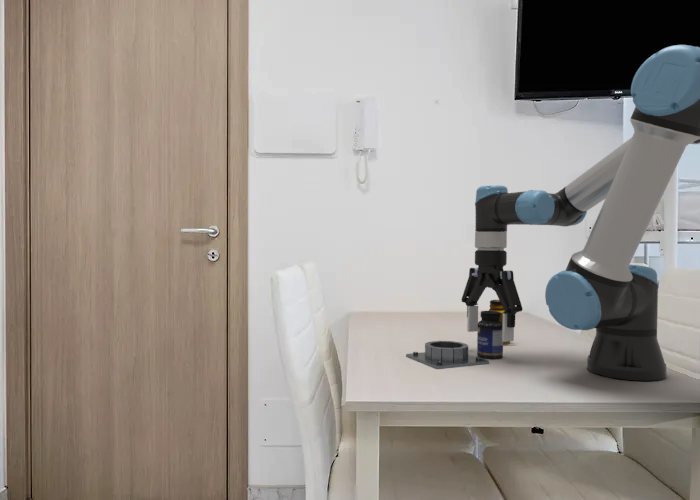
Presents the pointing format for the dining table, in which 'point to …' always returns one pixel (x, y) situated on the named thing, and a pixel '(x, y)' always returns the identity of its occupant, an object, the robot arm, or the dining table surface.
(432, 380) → the dining table surface
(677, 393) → the dining table surface
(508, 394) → the dining table surface
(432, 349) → the fitting
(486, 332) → the pill bottle
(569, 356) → the dining table surface
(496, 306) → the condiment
